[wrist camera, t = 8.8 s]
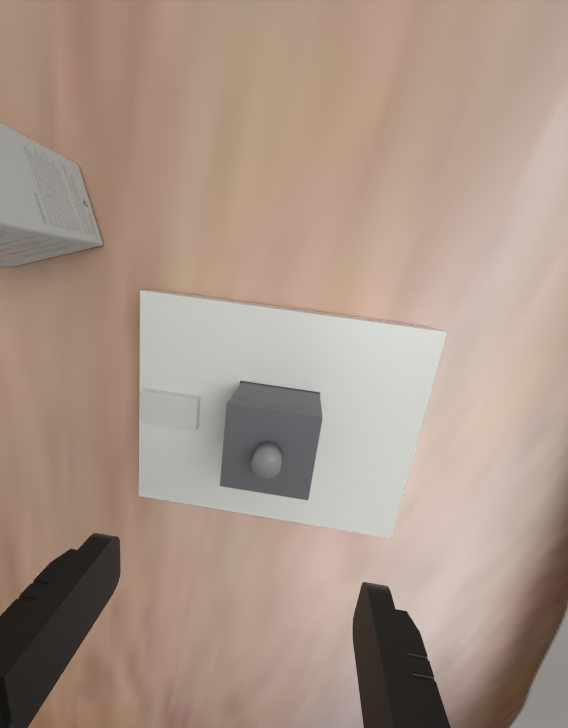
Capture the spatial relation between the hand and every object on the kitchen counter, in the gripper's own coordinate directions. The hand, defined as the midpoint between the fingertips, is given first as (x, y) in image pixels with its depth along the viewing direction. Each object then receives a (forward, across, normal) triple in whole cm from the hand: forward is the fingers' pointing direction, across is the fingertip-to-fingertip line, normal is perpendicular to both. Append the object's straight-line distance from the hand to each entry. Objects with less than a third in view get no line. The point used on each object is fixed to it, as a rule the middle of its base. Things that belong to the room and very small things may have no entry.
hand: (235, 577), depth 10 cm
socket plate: (+15, 0, 0) cm, 15 cm away
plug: (+15, 0, 0) cm, 15 cm away
